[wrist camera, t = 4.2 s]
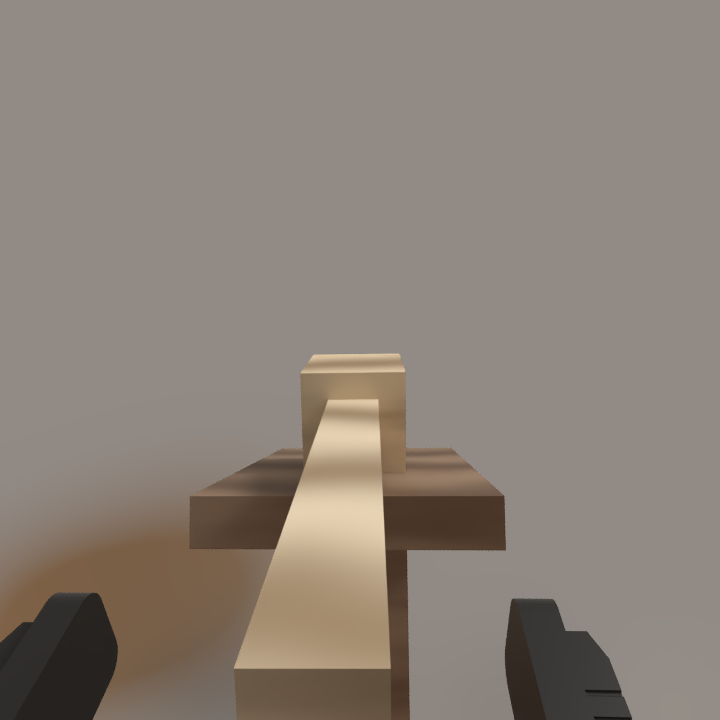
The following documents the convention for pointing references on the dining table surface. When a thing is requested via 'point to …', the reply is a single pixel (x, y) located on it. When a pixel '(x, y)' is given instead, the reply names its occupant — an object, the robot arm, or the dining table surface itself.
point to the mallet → (331, 555)
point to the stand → (401, 524)
